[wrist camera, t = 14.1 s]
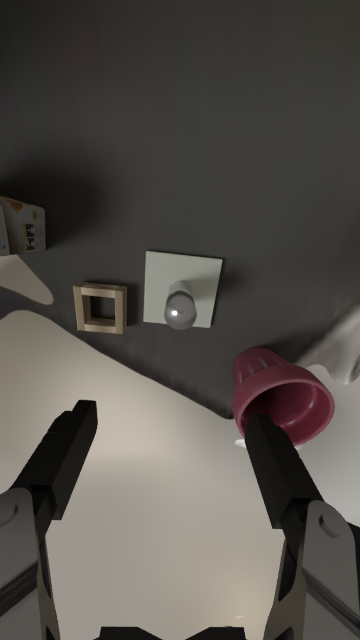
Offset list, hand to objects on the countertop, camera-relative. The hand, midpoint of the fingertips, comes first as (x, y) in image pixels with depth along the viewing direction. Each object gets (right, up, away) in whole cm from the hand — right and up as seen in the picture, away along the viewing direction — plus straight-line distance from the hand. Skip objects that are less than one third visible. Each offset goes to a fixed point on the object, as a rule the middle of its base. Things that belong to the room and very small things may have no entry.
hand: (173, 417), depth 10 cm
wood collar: (-13, +8, +25) cm, 29 cm away
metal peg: (0, +10, +23) cm, 25 cm away
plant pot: (+16, -4, +31) cm, 35 cm away
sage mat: (0, +10, +24) cm, 26 cm away
